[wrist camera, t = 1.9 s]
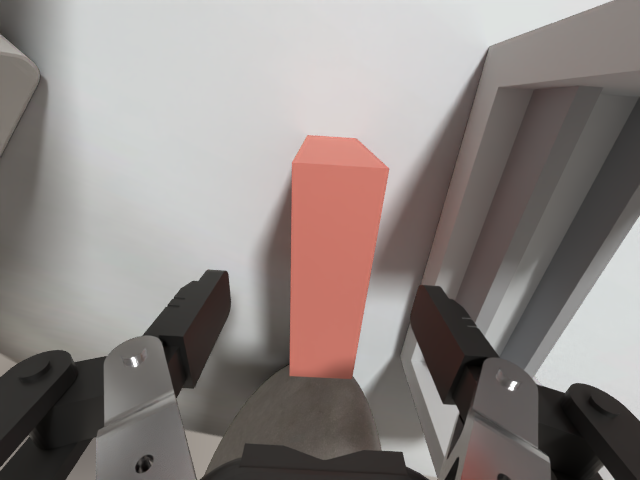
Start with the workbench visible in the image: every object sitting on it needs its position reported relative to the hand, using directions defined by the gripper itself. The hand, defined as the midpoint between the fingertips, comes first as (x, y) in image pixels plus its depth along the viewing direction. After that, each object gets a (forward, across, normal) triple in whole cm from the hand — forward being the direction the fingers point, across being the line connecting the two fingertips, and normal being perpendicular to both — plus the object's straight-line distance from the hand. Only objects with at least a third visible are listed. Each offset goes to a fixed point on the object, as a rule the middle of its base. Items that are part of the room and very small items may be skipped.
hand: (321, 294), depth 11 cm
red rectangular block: (+8, 0, -1) cm, 8 cm away
